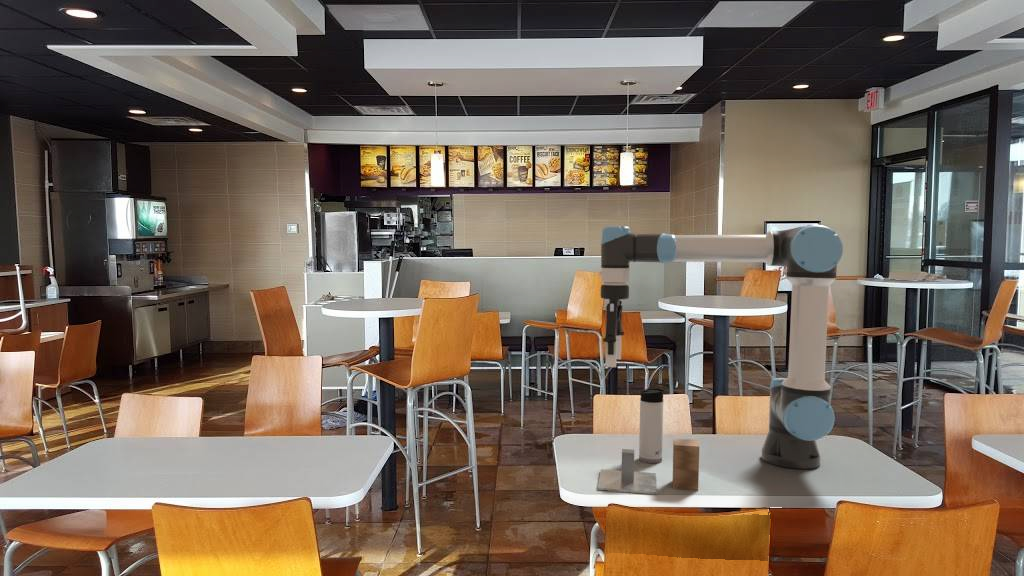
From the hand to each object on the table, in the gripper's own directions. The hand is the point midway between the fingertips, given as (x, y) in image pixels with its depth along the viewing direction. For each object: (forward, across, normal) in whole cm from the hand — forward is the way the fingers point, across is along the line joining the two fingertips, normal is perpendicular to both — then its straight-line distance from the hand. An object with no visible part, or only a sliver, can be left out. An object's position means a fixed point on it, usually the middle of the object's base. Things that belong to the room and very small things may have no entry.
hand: (613, 362), depth 180 cm
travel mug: (+28, -6, +10) cm, 30 cm away
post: (+28, +14, +5) cm, 31 cm away
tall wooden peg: (+28, +12, +19) cm, 36 cm away
